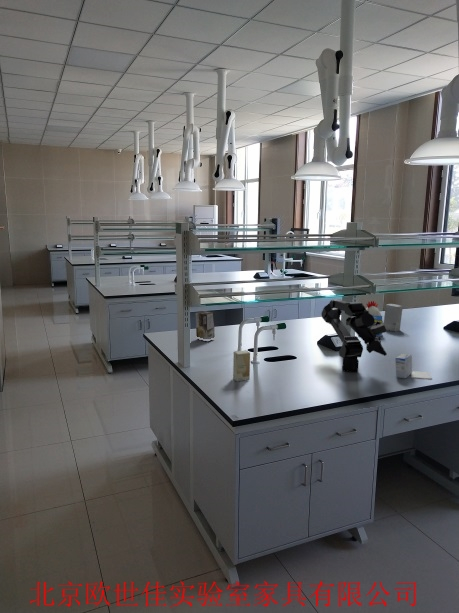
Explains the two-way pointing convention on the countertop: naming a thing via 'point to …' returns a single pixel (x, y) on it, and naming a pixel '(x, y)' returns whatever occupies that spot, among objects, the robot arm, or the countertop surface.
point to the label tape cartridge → (379, 318)
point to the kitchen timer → (373, 309)
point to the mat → (420, 375)
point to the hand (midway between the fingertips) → (386, 354)
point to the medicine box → (403, 365)
